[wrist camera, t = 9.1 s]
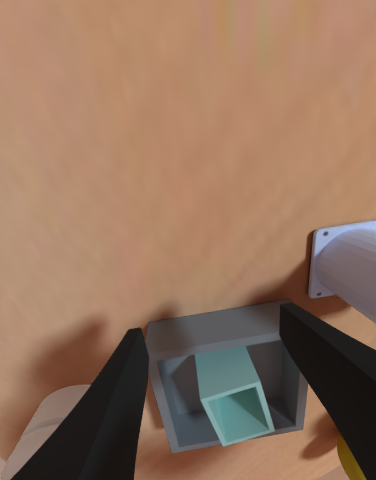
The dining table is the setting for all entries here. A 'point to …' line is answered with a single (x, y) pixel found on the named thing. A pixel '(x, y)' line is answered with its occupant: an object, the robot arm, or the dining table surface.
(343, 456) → the lemon
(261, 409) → the teal crate
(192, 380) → the charcoal crate
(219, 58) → the dining table surface
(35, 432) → the honey pot
